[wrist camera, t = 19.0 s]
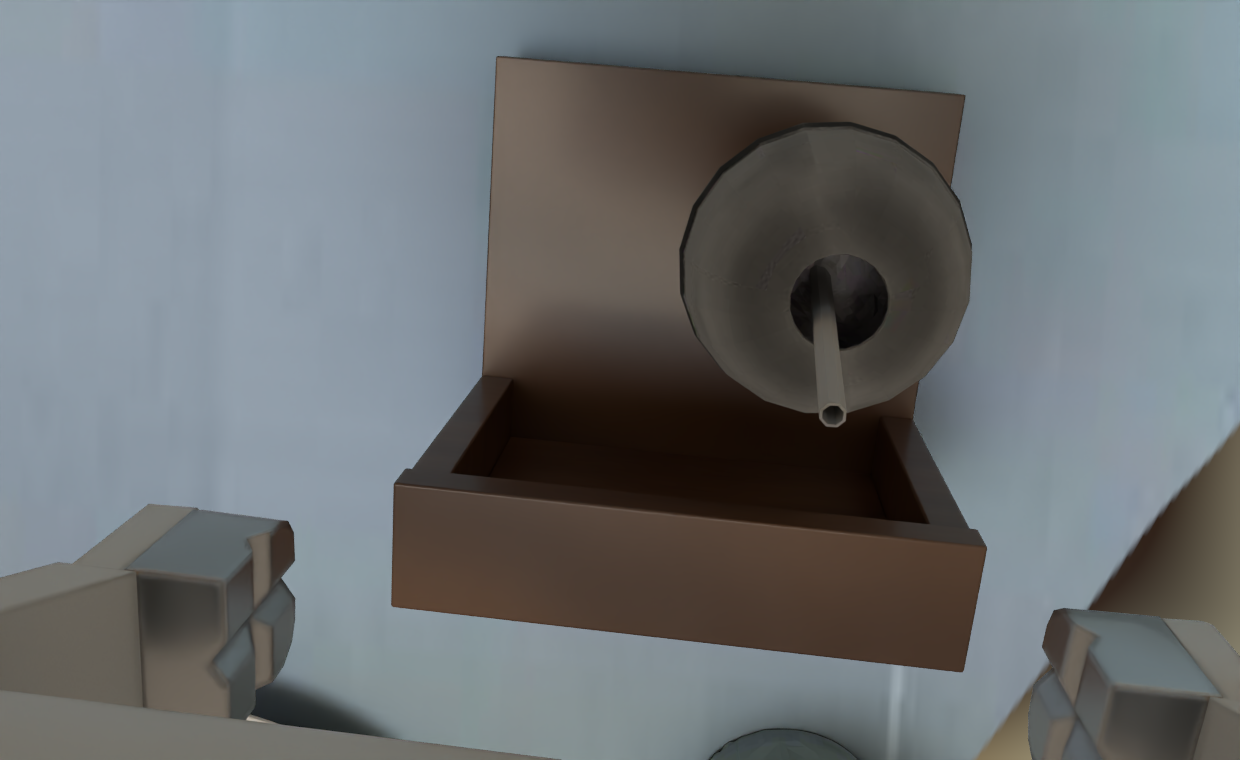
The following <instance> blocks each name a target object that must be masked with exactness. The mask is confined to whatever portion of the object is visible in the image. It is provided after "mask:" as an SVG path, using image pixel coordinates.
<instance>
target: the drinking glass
mask: <svg viewBox="0 0 1240 760" xmlns="http://www.w3.org/2000/svg"><path fill="white" fill-rule="evenodd" d="M710 760H857V759H856V758H855V757H854V756H853V755H852V754H851V753H850V752H849V751H847V750H846V749H844V748H843V747H842V746H840V745H839V744H837V743H835V742H833V741H831V740H829V739H827V738H824V737H821V736H819V735H816V734H813V733H808V732H804V731H798V730H787V729H782V730H763V731H760V732H756V733H753V734H750V735H747V736H744V737H741V738H739V739H738V740H736V741H735V742H728V743H727V744H726V745H725V746H724V747H723V749H722V750H721V752H718V753H715V754H714V756H713V758H712V759H710Z"/></svg>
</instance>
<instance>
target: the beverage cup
mask: <svg viewBox="0 0 1240 760" xmlns="http://www.w3.org/2000/svg"><path fill="white" fill-rule="evenodd" d="M971 263H972V243H971V240H970V236H969V232H968V229H967V225H966V222H965V218H964V214H963V211H962V207H961V204H960V200H959V199H958V197H957V196H956V195H955V193H954V192H953V190H952V189H951V187H950V186H949V185H948V183H947V182H946V180H945V179H944V177H943V176H942V174H941V173H940V172H939V170H938V169H937V167H936V166H935V164H934V163H933V162H932V161H930V160H929V159H927V158H926V157H925V156H923V155H922V154H921V153H919V152H918V151H916V150H915V149H914V148H912V147H911V146H910V145H908V144H907V143H905V142H904V141H903V140H901V139H900V138H898V137H897V136H896V135H893V134H889V133H886V132H883V131H879V130H876V129H873V128H870V127H866V126H863V125H860V124H856V123H853V122H817V123H801V124H798V125H795V126H792V127H789V128H787V129H784V130H781V131H778V132H775V133H772V134H770V135H767V136H764V137H761V138H758V139H756V140H755V141H754V142H753V143H751V144H750V145H749V146H747V147H746V148H745V149H743V150H742V151H741V152H739V153H738V154H737V155H735V156H734V157H733V158H731V159H730V160H729V161H727V162H726V163H725V164H724V165H722V166H721V167H720V168H719V169H718V170H717V172H716V173H715V175H714V176H713V178H712V179H711V180H710V182H709V183H708V185H707V186H706V188H705V189H704V190H703V192H702V193H701V195H700V196H699V197H698V199H697V200H696V202H695V203H694V205H693V206H692V210H691V213H690V216H689V219H688V223H687V226H686V229H685V232H684V235H683V239H682V242H681V245H680V248H679V264H680V295H681V298H682V301H683V304H684V306H685V309H686V312H687V315H688V318H689V321H690V324H691V327H692V329H693V332H694V335H695V336H696V338H697V339H698V340H699V341H700V343H701V344H702V345H703V347H704V348H705V349H706V351H707V352H708V353H709V354H710V356H711V357H712V358H713V360H714V361H715V362H716V364H717V365H718V366H719V368H720V369H721V370H723V371H724V372H725V373H726V374H727V375H728V376H730V377H731V378H732V379H734V380H735V381H737V382H738V383H740V384H741V385H743V386H744V387H745V388H747V389H748V390H750V391H751V392H753V393H754V394H756V395H757V396H759V397H760V398H761V399H763V400H764V401H768V402H771V403H774V404H777V405H781V406H784V407H787V408H790V409H794V410H797V411H800V412H803V413H819V419H820V420H821V421H822V423H823V424H824V425H825V426H826V427H838V426H840V425H841V424H842V423H844V422H845V421H846V413H849V412H852V411H855V410H858V409H862V408H865V407H868V406H872V405H875V404H878V403H881V402H885V401H888V400H890V399H892V398H893V397H895V396H896V395H898V394H899V393H901V392H902V391H904V390H905V389H907V388H908V387H910V386H911V385H913V384H914V383H916V382H917V381H919V380H920V379H922V378H923V377H925V376H926V375H927V373H928V372H929V371H930V370H931V368H932V367H933V366H934V365H935V364H936V362H937V361H938V360H939V359H940V357H941V356H942V355H943V354H944V353H945V351H946V350H947V349H948V348H949V346H950V345H951V344H952V343H953V341H954V339H955V336H956V334H957V331H958V328H959V326H960V323H961V321H962V318H963V316H964V313H965V311H966V308H967V306H968V303H969V297H970V280H971Z"/></svg>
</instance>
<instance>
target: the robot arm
mask: <svg viewBox="0 0 1240 760" xmlns="http://www.w3.org/2000/svg"><path fill="white" fill-rule="evenodd" d="M294 561H295V553H294V532H293V530H292V528H291V526H290V524H289V522H288V521H284V520H276V519H269V518H261V517H253V516H246V515H238V514H230V513H223V512H215V511H208V510H199V509H198V508H194V507H182V506H169V505H156V504H148V505H147V506H146V507H144V508H143V509H142V510H141V511H139V512H138V513H137V514H135V515H134V516H133V517H132V518H130V519H129V520H128V521H126V522H125V523H124V524H123V525H121V526H120V527H119V528H118V529H116V530H115V531H114V532H112V533H111V534H110V535H109V536H107V537H106V538H105V539H103V540H102V541H101V542H100V543H98V544H97V545H96V546H95V547H93V548H92V549H91V550H89V551H88V552H87V553H86V554H84V555H83V556H82V557H80V558H79V559H78V560H77V561H75V562H74V563H73V564H69V563H60V562H57V563H53V564H50V565H46V566H42V567H38V568H35V569H31V570H27V571H23V572H20V573H16V574H12V575H8V576H5V577H1V578H0V760H560V759H552V758H544V757H536V756H528V755H520V754H512V753H504V752H496V751H488V750H480V749H472V748H464V747H456V746H448V745H440V744H432V743H424V742H416V741H408V740H400V739H392V738H384V737H376V736H368V735H360V734H352V733H344V732H336V731H328V730H320V729H312V728H304V727H296V726H288V725H280V724H272V723H264V722H256V721H248V720H246V719H247V718H248V716H249V715H250V714H251V712H252V711H253V709H254V708H255V707H256V693H255V690H256V689H258V688H261V687H263V686H265V685H267V684H270V683H272V682H273V681H274V680H275V678H276V677H277V675H278V674H279V672H280V671H281V669H282V668H283V666H284V663H285V660H286V657H287V654H288V652H289V649H290V646H291V643H292V637H293V630H294V623H295V597H294V596H293V594H292V593H291V592H290V590H289V589H288V587H287V586H286V584H285V583H284V581H283V580H282V579H281V577H282V576H283V575H284V574H285V572H286V571H287V570H288V569H289V567H290V566H291V565H292V564H293V563H294ZM1042 648H1043V650H1044V652H1045V654H1046V656H1047V657H1048V659H1049V661H1050V663H1051V665H1052V667H1053V668H1052V669H1051V670H1050V671H1049V672H1048V673H1046V674H1045V675H1044V676H1043V677H1042V678H1041V679H1040V680H1039V681H1037V682H1036V683H1035V684H1034V686H1033V692H1032V697H1031V702H1030V708H1029V713H1028V720H1029V721H1028V722H1029V723H1028V741H1029V745H1030V751H1031V756H1032V760H1240V656H1239V655H1238V653H1237V652H1236V651H1235V650H1234V649H1233V648H1232V646H1230V644H1229V643H1228V642H1227V641H1226V639H1225V638H1224V637H1223V636H1222V635H1221V634H1220V633H1219V631H1218V630H1217V629H1216V628H1215V627H1214V626H1213V625H1211V624H1209V623H1206V622H1203V621H1192V620H1175V619H1161V618H1160V617H1157V616H1146V615H1134V614H1124V613H1113V612H1101V611H1090V610H1079V609H1068V608H1063V609H1058V610H1054V611H1053V614H1052V616H1051V618H1050V620H1049V622H1048V624H1047V628H1046V632H1045V636H1044V641H1043V645H1042Z"/></svg>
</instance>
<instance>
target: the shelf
mask: <svg viewBox="0 0 1240 760" xmlns="http://www.w3.org/2000/svg"><path fill="white" fill-rule="evenodd" d="M964 102H965V95H962V94H955V93H943V92H931V91H919V90H907V89H895V88H883V87H871V86H858V85H846V84H834V83H822V82H810V81H798V80H786V79H774V78H762V77H750V76H738V75H726V74H713V73H701V72H689V71H677V70H665V69H653V68H641V67H629V66H617V65H605V64H593V63H580V62H568V61H556V60H544V59H532V58H520V57H508V56H497V57H496V76H495V98H494V121H493V144H492V166H491V189H490V212H489V234H488V257H487V280H486V302H485V325H484V347H483V370H482V377H481V378H480V380H479V381H478V382H477V384H476V385H475V386H474V388H473V389H472V390H471V392H470V393H469V394H468V396H467V397H466V398H465V399H464V401H463V402H462V403H461V405H460V406H459V407H458V409H457V410H456V411H455V413H454V414H453V415H452V417H451V418H450V419H449V421H448V422H447V423H446V425H445V426H444V427H443V429H442V430H441V431H440V433H439V434H438V435H437V437H436V438H435V439H434V441H433V442H432V443H431V445H430V446H429V447H428V449H427V450H426V451H425V453H424V454H423V455H422V457H421V458H420V459H419V461H418V462H417V463H416V465H415V466H414V467H413V469H405V470H404V471H403V472H402V474H401V475H400V476H399V478H398V479H397V480H396V482H395V483H394V497H393V546H392V594H391V605H392V606H393V607H399V608H408V609H417V610H425V611H434V612H443V613H451V614H460V615H469V616H477V617H486V618H495V619H503V620H512V621H521V622H529V623H538V624H547V625H555V626H564V627H573V628H581V629H590V630H599V631H607V632H616V633H625V634H633V635H642V636H651V637H659V638H668V639H677V640H685V641H694V642H703V643H711V644H720V645H729V646H737V647H746V648H755V649H763V650H772V651H781V652H789V653H798V654H807V655H815V656H824V657H833V658H841V659H850V660H859V661H867V662H876V663H885V664H893V665H902V666H911V667H919V668H928V669H937V670H945V671H954V672H963V671H964V667H965V662H966V656H967V651H968V646H969V641H970V635H971V630H972V625H973V620H974V614H975V609H976V604H977V599H978V593H979V588H980V583H981V578H982V572H983V567H984V562H985V557H986V551H987V547H986V545H985V543H984V541H983V539H982V537H981V536H980V534H979V532H978V530H976V529H969V527H968V525H967V523H966V521H965V519H964V517H963V515H962V513H961V511H960V509H959V508H958V506H957V504H956V502H955V500H954V498H953V496H952V494H951V492H950V490H949V488H948V487H947V485H946V483H945V481H944V479H943V477H942V475H941V473H940V471H939V469H938V467H937V466H936V464H935V462H934V460H933V458H932V456H931V454H930V452H929V450H928V448H927V446H926V445H925V443H924V441H923V439H922V437H921V435H920V433H919V431H918V429H917V427H916V425H915V424H914V422H913V414H914V408H915V402H916V396H917V390H918V384H919V381H917V382H916V383H914V384H913V385H911V386H910V387H908V388H907V389H905V390H904V391H902V392H901V393H899V394H898V395H896V396H895V397H893V398H892V399H890V400H888V401H885V402H881V403H878V404H875V405H872V406H868V407H865V408H862V409H858V410H855V411H852V412H849V413H846V421H845V422H844V423H842V424H841V425H840V426H838V427H826V426H825V425H824V424H823V423H822V421H821V420H820V419H819V413H803V412H800V411H797V410H794V409H790V408H787V407H784V406H781V405H777V404H774V403H771V402H768V401H764V400H763V399H761V398H760V397H759V396H757V395H756V394H754V393H753V392H751V391H750V390H748V389H747V388H745V387H744V386H743V385H741V384H740V383H738V382H737V381H735V380H734V379H732V378H731V377H730V376H728V375H727V374H726V373H725V372H724V371H723V370H721V369H720V368H719V366H718V365H717V364H716V362H715V361H714V360H713V358H712V357H711V356H710V354H709V353H708V352H707V351H706V349H705V348H704V347H703V345H702V344H701V343H700V341H699V340H698V339H697V338H696V336H695V335H694V332H693V329H692V327H691V324H690V321H689V318H688V315H687V312H686V309H685V306H684V304H683V301H682V298H681V295H680V264H679V248H680V245H681V242H682V239H683V235H684V232H685V229H686V226H687V223H688V219H689V216H690V213H691V210H692V206H693V205H694V203H695V202H696V200H697V199H698V197H699V196H700V195H701V193H702V192H703V190H704V189H705V188H706V186H707V185H708V183H709V182H710V180H711V179H712V178H713V176H714V175H715V173H716V172H717V170H718V169H719V168H720V167H721V166H722V165H724V164H725V163H726V162H727V161H729V160H730V159H731V158H733V157H734V156H735V155H737V154H738V153H739V152H741V151H742V150H743V149H745V148H746V147H747V146H749V145H750V144H751V143H753V142H754V141H755V140H756V139H758V138H761V137H764V136H767V135H770V134H772V133H775V132H778V131H781V130H784V129H787V128H789V127H792V126H795V125H798V124H801V123H817V122H853V123H856V124H860V125H863V126H866V127H870V128H873V129H876V130H879V131H883V132H886V133H889V134H893V135H896V136H897V137H898V138H900V139H901V140H903V141H904V142H905V143H907V144H908V145H910V146H911V147H912V148H914V149H915V150H916V151H918V152H919V153H921V154H922V155H923V156H925V157H926V158H927V159H929V160H930V161H932V162H933V163H934V164H935V166H936V167H937V169H938V170H939V172H940V173H941V174H942V176H943V177H944V179H945V180H946V182H947V183H948V185H949V186H950V187H951V182H952V176H953V169H954V163H955V157H956V151H957V145H958V139H959V133H960V127H961V120H962V114H963V108H964Z"/></svg>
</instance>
